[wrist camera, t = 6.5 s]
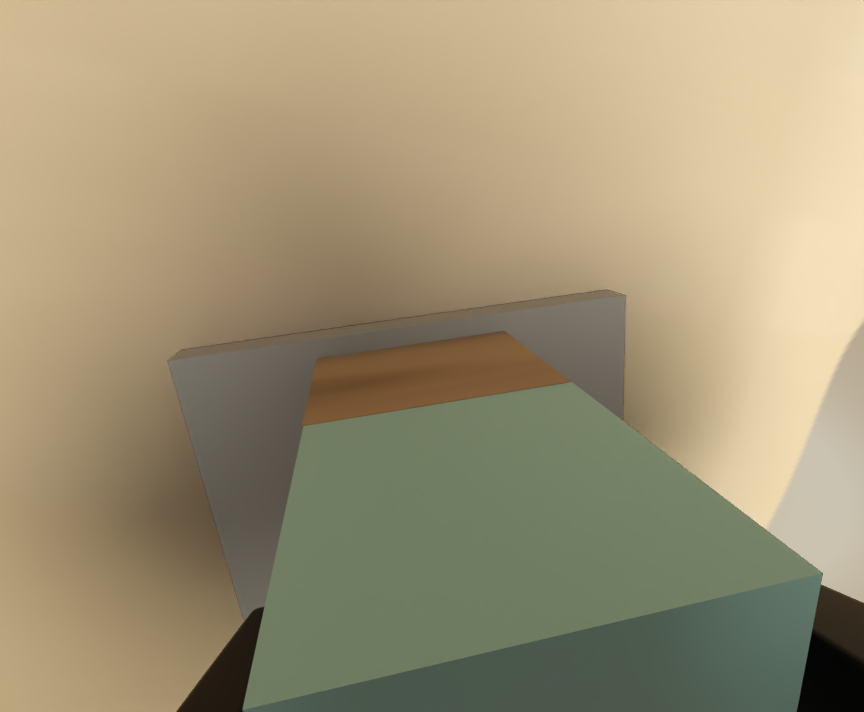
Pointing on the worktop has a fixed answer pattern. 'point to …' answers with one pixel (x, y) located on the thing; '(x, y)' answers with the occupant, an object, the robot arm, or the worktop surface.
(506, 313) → the board
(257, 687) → the teal block
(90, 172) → the worktop surface
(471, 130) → the worktop surface
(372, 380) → the walnut base
